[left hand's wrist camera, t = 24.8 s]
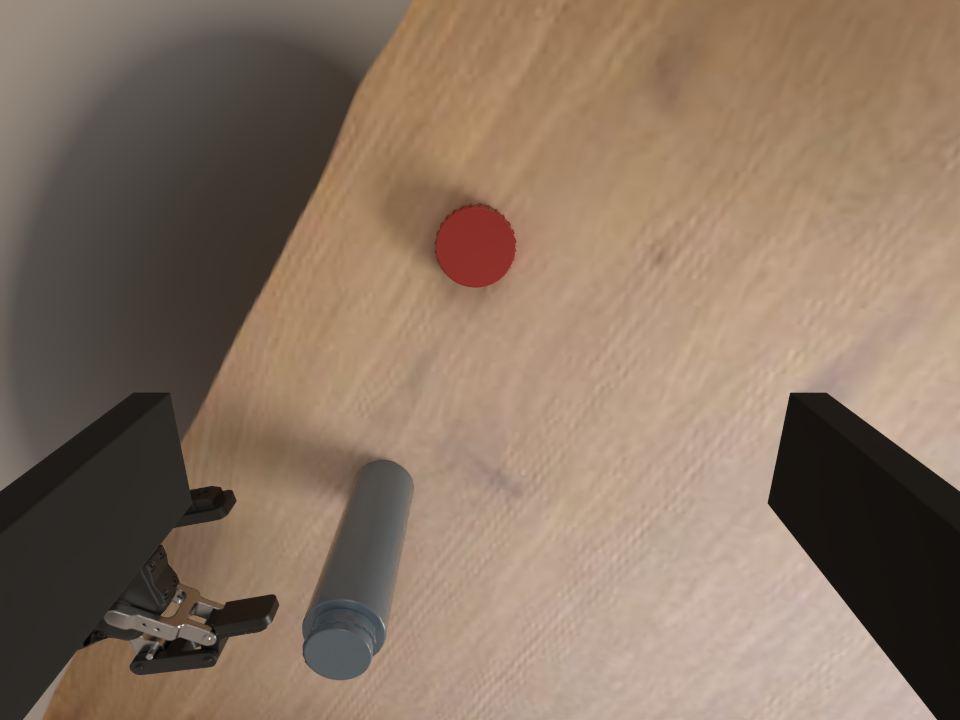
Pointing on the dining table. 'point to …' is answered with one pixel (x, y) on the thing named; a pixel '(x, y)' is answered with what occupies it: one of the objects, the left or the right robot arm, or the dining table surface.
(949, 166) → the dining table surface
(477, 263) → the lid
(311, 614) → the grey bottle
